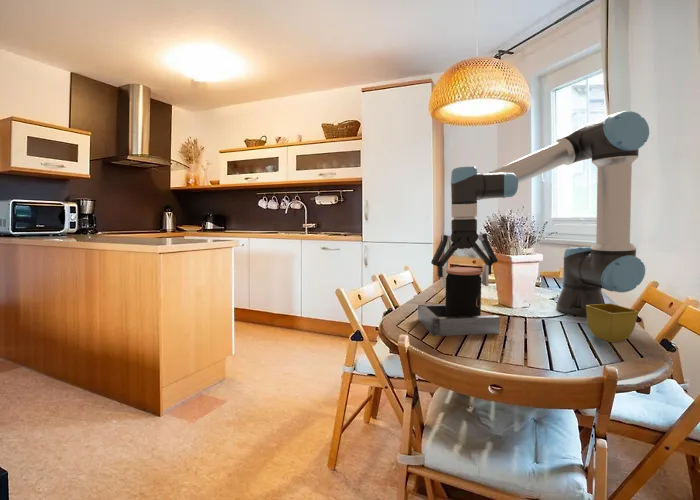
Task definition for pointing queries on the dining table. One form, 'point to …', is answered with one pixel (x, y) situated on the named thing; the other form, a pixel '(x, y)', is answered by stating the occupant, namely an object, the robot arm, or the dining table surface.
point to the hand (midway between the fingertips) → (464, 286)
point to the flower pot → (611, 321)
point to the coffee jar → (463, 292)
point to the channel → (456, 322)
